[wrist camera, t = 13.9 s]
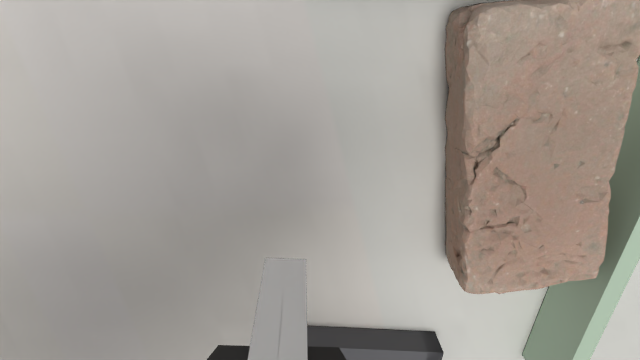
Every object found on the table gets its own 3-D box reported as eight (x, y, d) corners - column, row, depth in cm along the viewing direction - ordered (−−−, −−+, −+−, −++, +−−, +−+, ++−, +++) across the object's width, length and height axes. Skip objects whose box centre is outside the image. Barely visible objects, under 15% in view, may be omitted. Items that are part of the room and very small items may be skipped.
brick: (439, 10, 20) (475, 2, 15) (591, -10, 19) (672, -25, 15) (438, 257, 26) (464, 302, 21) (553, 244, 25) (603, 286, 21)
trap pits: (275, 396, 30) (273, 419, 28) (306, -234, 15) (305, -272, 14) (416, 401, 31) (423, 424, 29) (574, -200, 16) (608, -231, 14)
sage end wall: (522, 354, 29) (553, 401, 25) (675, -34, 19) (765, -53, 15) (536, 355, 29) (569, 401, 25) (696, -32, 19) (791, -50, 15)
